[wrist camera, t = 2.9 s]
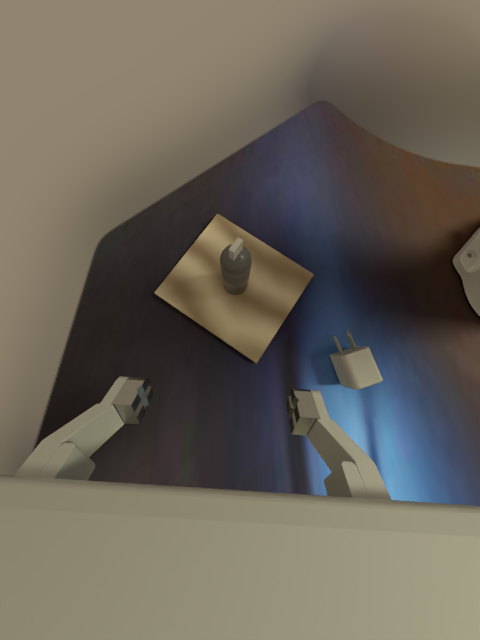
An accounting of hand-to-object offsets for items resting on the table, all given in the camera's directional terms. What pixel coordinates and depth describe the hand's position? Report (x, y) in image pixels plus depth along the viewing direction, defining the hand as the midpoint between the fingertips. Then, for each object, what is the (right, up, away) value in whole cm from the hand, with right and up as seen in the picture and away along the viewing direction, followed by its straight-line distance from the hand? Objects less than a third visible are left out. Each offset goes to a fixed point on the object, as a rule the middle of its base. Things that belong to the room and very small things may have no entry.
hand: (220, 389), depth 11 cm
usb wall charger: (+16, -2, +17) cm, 24 cm away
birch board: (0, +9, +18) cm, 20 cm away
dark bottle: (0, +9, +17) cm, 20 cm away
